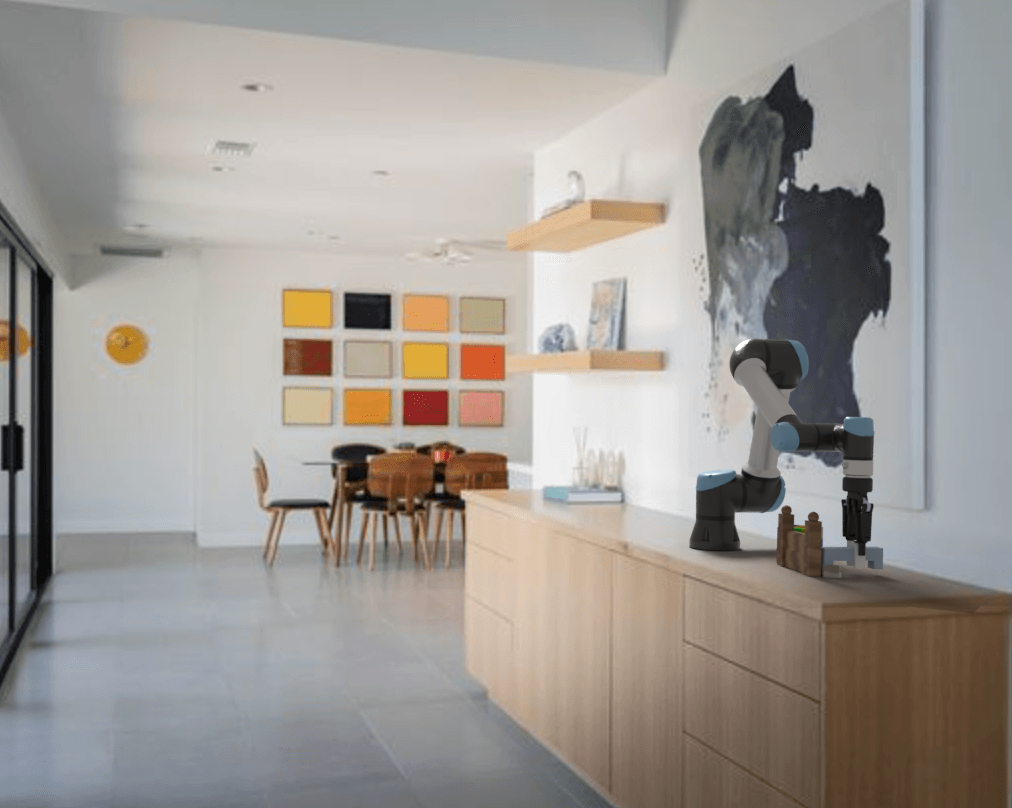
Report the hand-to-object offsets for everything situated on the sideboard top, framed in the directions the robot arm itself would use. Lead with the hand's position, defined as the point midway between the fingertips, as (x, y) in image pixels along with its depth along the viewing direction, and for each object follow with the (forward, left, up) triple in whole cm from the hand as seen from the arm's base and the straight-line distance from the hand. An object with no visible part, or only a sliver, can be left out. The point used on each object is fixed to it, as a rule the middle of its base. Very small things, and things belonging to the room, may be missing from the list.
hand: (855, 566), depth 302 cm
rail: (0, -1, 0) cm, 1 cm away
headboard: (-8, -10, -2) cm, 12 cm away
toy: (-23, -5, -2) cm, 23 cm away
